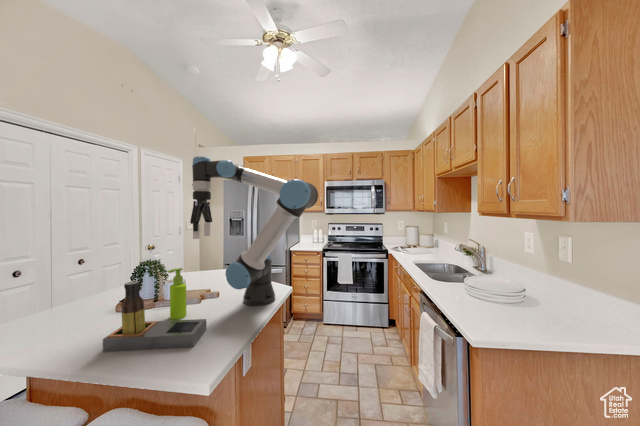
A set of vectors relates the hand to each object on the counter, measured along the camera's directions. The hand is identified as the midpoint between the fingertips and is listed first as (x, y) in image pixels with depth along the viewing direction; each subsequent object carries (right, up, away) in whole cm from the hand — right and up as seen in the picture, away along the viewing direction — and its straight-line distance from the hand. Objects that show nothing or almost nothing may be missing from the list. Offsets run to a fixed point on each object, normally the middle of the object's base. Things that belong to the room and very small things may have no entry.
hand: (202, 237), depth 118 cm
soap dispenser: (-5, -32, -12) cm, 35 cm away
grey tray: (0, -32, -31) cm, 44 cm away
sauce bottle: (-8, -32, -32) cm, 46 cm away
